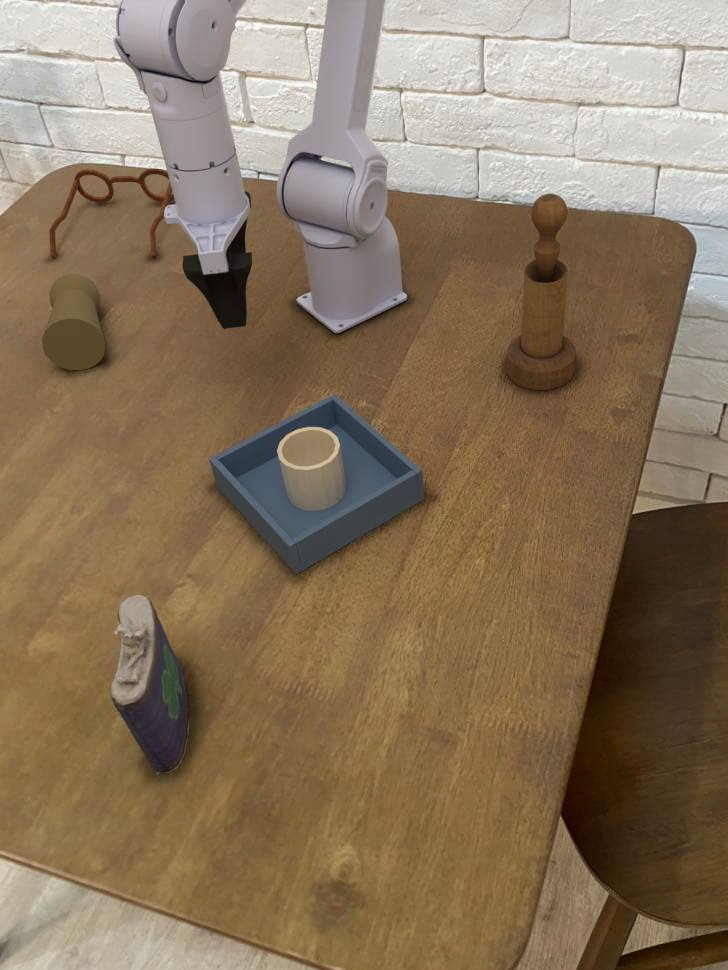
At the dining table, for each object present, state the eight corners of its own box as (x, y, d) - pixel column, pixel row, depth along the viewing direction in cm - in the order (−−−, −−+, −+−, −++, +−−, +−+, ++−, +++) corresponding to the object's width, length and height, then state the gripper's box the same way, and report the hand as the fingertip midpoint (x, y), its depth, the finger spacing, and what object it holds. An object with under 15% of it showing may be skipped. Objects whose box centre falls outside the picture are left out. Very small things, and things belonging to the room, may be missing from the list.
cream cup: (324, 460, 84) (317, 418, 80) (357, 492, 81) (351, 449, 78) (275, 487, 82) (265, 445, 79) (307, 520, 79) (299, 478, 76)
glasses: (184, 202, 118) (174, 164, 115) (155, 259, 110) (144, 220, 106) (84, 203, 120) (72, 166, 116) (49, 259, 111) (34, 221, 107)
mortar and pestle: (529, 399, 89) (537, 226, 75) (493, 363, 93) (495, 192, 79) (587, 375, 90) (605, 202, 77) (550, 341, 94) (561, 170, 81)
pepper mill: (74, 307, 91) (75, 254, 99) (28, 341, 93) (33, 286, 100) (118, 348, 96) (116, 294, 103) (74, 380, 97) (75, 325, 105)
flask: (151, 667, 71) (110, 578, 63) (190, 661, 71) (153, 572, 63) (146, 778, 65) (99, 694, 57) (189, 771, 65) (147, 687, 57)
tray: (339, 422, 88) (334, 393, 86) (424, 499, 81) (422, 469, 78) (217, 487, 84) (208, 458, 81) (296, 574, 76) (289, 546, 74)
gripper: (155, 120, 79) (192, 262, 89) (143, 205, 69) (187, 354, 80) (238, 110, 79) (266, 253, 89) (238, 194, 70) (270, 344, 80)
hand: (234, 300), depth 85 cm, fingers open, 7 cm apart
